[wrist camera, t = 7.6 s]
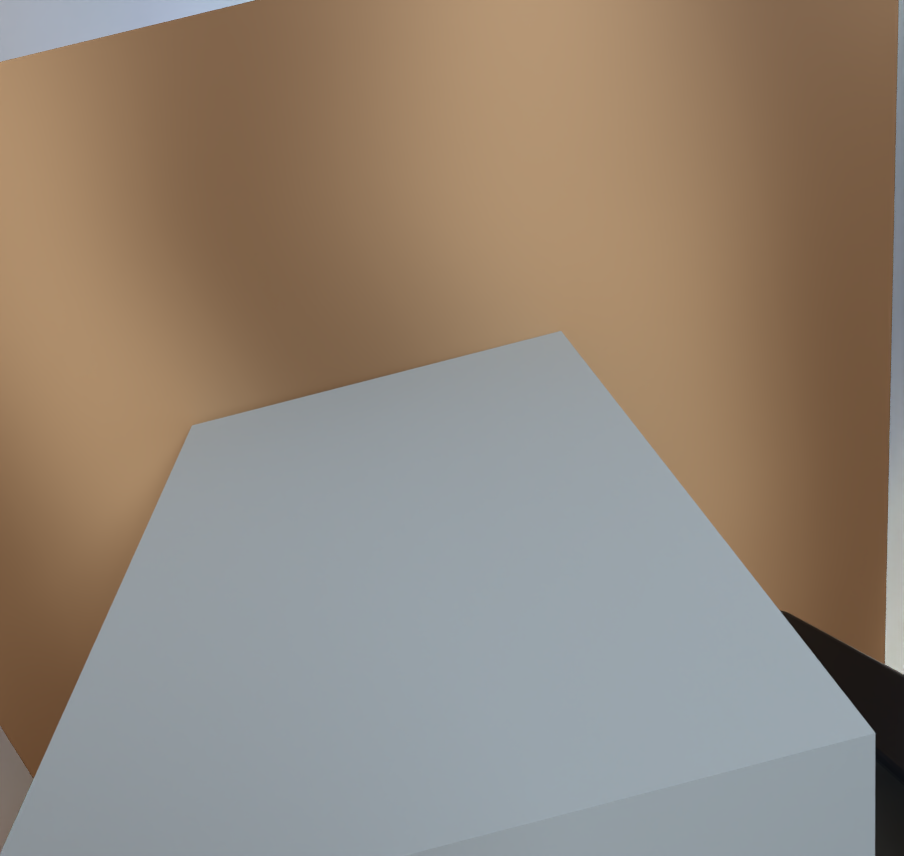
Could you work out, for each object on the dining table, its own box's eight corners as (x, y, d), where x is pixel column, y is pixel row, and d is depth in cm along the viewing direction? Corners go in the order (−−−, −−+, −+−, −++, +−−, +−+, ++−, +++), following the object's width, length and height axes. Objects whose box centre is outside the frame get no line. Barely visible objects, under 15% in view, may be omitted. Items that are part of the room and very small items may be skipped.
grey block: (561, 330, 11) (876, 733, 4) (613, 624, 13) (874, 1186, 6) (191, 425, 10) (-53, 972, 4) (306, 704, 13) (259, 1348, 6)
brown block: (743, -91, 12) (901, -156, 9) (779, 621, 18) (882, 760, 15) (-146, 124, 12) (-360, 148, 9) (179, 765, 18) (133, 939, 15)
